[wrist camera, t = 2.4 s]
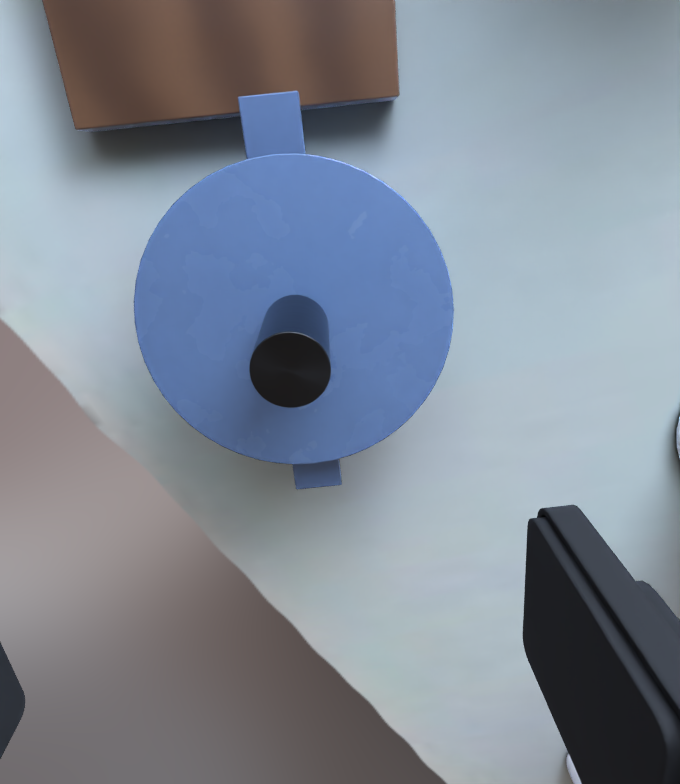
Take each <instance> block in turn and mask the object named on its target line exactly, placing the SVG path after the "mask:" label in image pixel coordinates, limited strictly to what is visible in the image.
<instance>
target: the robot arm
mask: <svg viewBox="0 0 680 784" xmlns="http://www.w3.org/2000/svg"><path fill="white" fill-rule="evenodd" d="M677 449H678V454H679V458H680V417H679V422H678V426H677ZM523 643H524V648H525V652H526V656H527V658H528V661H529V663H530V666H531V668H532V670H533V672H534V675H535V677H536V679H537V682H538V684H539V686H540V689H541V691H542V693H543V695H544V698H545V700H546V702H547V705H548V707H549V709H550V712H551V714H552V716H553V718H554V721H555V723H556V725H557V728H558V730H559V732H560V735H561V737H562V739H563V741H564V744H565V746H566V748H567V751H568V753H569V755H570V758H571V760H572V762H573V764H574V767H575V769H576V771H577V774H578V776H579V778H580V781H581V783H582V784H680V620H679V619H678V618H677V617H676V615H675V614H674V613H673V612H672V610H671V609H670V608H669V607H668V605H667V604H666V603H665V602H664V600H663V599H662V598H661V597H660V595H659V594H658V593H657V592H656V591H655V590H654V589H653V588H652V587H651V586H650V585H649V584H647V583H646V582H644V581H635V580H634V579H633V577H632V576H631V575H630V573H629V572H628V571H627V569H626V568H625V567H624V566H623V564H622V563H621V562H620V560H619V559H618V558H617V556H616V555H615V554H614V553H613V551H612V550H611V549H610V547H609V546H608V545H607V543H606V542H605V541H604V540H603V538H602V537H601V536H600V534H599V533H598V532H597V530H596V529H595V528H594V527H593V525H592V524H591V523H590V521H589V520H588V519H587V517H586V516H585V515H584V514H583V512H582V511H581V510H580V509H579V508H578V507H577V506H575V505H568V506H559V507H550V508H542V509H540V510H539V512H538V516H537V518H532V519H529V521H528V530H527V552H526V575H525V597H524V620H523ZM24 708H25V695H24V692H23V690H22V688H21V686H20V683H19V681H18V679H17V677H16V675H15V673H14V671H13V668H12V666H11V664H10V662H9V660H8V658H7V655H6V653H5V651H4V649H3V647H2V645H1V643H0V758H1V757H2V755H3V753H4V751H5V749H6V747H7V745H8V743H9V741H10V739H11V737H12V735H13V733H14V731H15V729H16V728H17V726H18V724H19V722H20V720H21V717H22V715H23V712H24Z"/></svg>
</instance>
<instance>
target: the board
mask: <svg viewBox="0 0 680 784" xmlns="http://www.w3.org/2000/svg"><path fill="white" fill-rule="evenodd" d="M42 2H43V5H44V9H45V13H46V17H47V21H48V25H49V29H50V33H51V37H52V40H53V44H54V48H55V52H56V56H57V60H58V64H59V68H60V72H61V75H62V79H63V83H64V87H65V91H66V95H67V99H68V103H69V107H70V110H71V114H72V118H73V122H74V126H75V129H76V130H80V131H88V132H96V131H105V130H115V129H125V128H134V127H144V126H153V125H163V124H173V123H182V122H192V121H201V120H211V119H220V118H230V117H240V110H239V104H238V97H241V96H251V95H260V94H270V93H279V92H289V91H298V93H299V98H300V107H301V110H307V109H316V108H326V107H336V106H345V105H355V104H364V103H374V102H384V101H393V100H395V99H396V98H397V97H398V96H399V75H398V53H397V32H396V11H395V0H42Z"/></svg>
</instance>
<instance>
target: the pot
mask: <svg viewBox="0 0 680 784" xmlns="http://www.w3.org/2000/svg"><path fill="white" fill-rule="evenodd" d="M238 104H239V110H240V117H241V124H242V130H243V137H244V144H245V151H246V157H247V159H250V158H254V157H260V156H266V155H271V154H293V153H298V154H306V152H305V143H304V134H303V125H302V116H301V107H300V98H299V93H298V91H289V92H279V93H270V94H260V95H251V96H241V97H238ZM292 465H293V472H294V479H295V485H296V489H306V488H316V487H325V486H335V485H341V484H342V481H341V470H340V461H339V459H336V460H332V461H326V462H319V463H311V464H292Z"/></svg>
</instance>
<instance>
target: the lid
mask: <svg viewBox="0 0 680 784" xmlns="http://www.w3.org/2000/svg"><path fill="white" fill-rule="evenodd" d="M453 315H454V307H453V294H452V287H451V282H450V278H449V273H448V269H447V266H446V263H445V261H444V258H443V255H442V253H441V250H440V248H439V246H438V244H437V242H436V240H435V238H434V237H433V235H432V233H431V231H430V229H429V228H428V227H427V225H426V224H425V222H424V221H423V220H422V218H421V217H420V216H419V214H418V213H417V212H416V211H415V210H414V209H413V207H412V206H411V205H410V204H409V203H408V202H407V201H406V200H405V199H404V198H403V197H402V196H401V195H400V194H398V193H397V192H396V191H394V190H393V189H392V188H391V187H389V186H388V185H387V184H386V183H384V182H383V181H381V180H379V179H378V178H376V177H374V176H373V175H371V174H369V173H367V172H366V171H364V170H361V169H359V168H357V167H354V166H352V165H349V164H347V163H345V162H342V161H338V160H334V159H330V158H326V157H322V156H316V155H307V154H298V153H293V154H271V155H266V156H260V157H254V158H250V159H247V160H244V161H241V162H238V163H234V164H231V165H228V166H226V167H224V168H222V169H220V170H218V171H216V172H215V173H213V174H211V175H209V176H207V177H206V178H204V179H203V180H201V181H200V182H198V183H197V184H196V185H194V186H193V187H191V188H190V189H189V190H188V191H187V192H185V193H184V194H183V195H182V196H181V197H180V198H179V199H178V200H177V201H176V202H175V203H174V204H173V205H172V206H171V208H170V209H169V210H168V211H167V213H166V214H165V215H164V216H163V218H162V219H161V220H160V221H159V223H158V225H157V227H156V228H155V230H154V232H153V234H152V235H151V237H150V239H149V241H148V243H147V246H146V248H145V251H144V253H143V256H142V258H141V261H140V266H139V270H138V274H137V278H136V285H135V295H134V316H135V326H136V332H137V337H138V343H139V346H140V349H141V352H142V355H143V358H144V361H145V364H146V366H147V368H148V370H149V372H150V374H151V376H152V378H153V380H154V382H155V384H156V385H157V387H158V388H159V390H160V391H161V393H162V395H163V396H164V397H165V399H166V400H167V401H168V402H169V404H170V405H171V406H172V407H173V408H174V410H175V411H176V412H177V413H178V414H179V415H180V416H181V417H182V418H183V419H184V420H185V421H187V422H188V423H189V424H190V425H191V426H192V427H193V428H195V429H196V430H197V431H199V432H200V433H201V434H203V435H204V436H206V437H207V438H209V439H211V440H212V441H214V442H216V443H217V444H219V445H221V446H223V447H225V448H227V449H230V450H232V451H234V452H236V453H239V454H242V455H245V456H248V457H251V458H255V459H258V460H263V461H269V462H274V463H285V464H311V463H319V462H326V461H332V460H336V459H339V458H343V457H346V456H350V455H352V454H355V453H357V452H360V451H362V450H364V449H367V448H369V447H371V446H372V445H374V444H376V443H378V442H380V441H381V440H383V439H385V438H386V437H387V436H389V435H390V434H392V433H393V432H394V431H396V430H397V429H398V428H400V427H401V426H402V425H403V424H404V423H405V422H406V421H407V420H408V419H409V418H410V417H411V416H412V415H413V414H414V413H415V412H416V411H417V409H418V408H419V407H420V406H421V405H422V403H423V402H424V401H425V399H426V398H427V396H428V395H429V393H430V392H431V390H432V389H433V387H434V386H435V384H436V381H437V379H438V377H439V375H440V373H441V371H442V369H443V366H444V363H445V360H446V357H447V354H448V351H449V347H450V342H451V336H452V331H453Z"/></svg>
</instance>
